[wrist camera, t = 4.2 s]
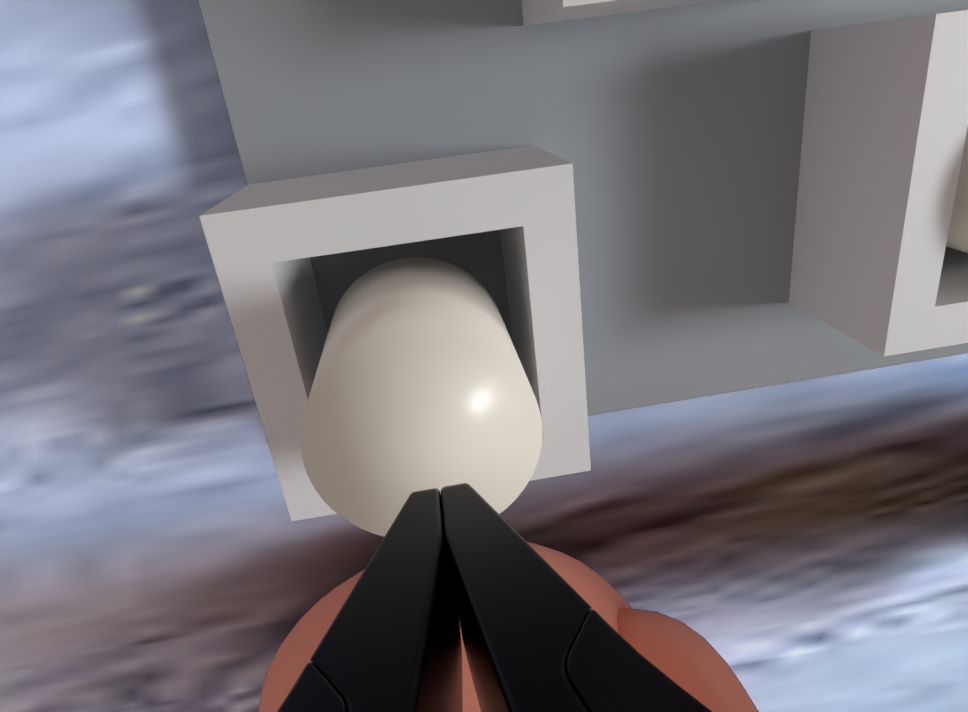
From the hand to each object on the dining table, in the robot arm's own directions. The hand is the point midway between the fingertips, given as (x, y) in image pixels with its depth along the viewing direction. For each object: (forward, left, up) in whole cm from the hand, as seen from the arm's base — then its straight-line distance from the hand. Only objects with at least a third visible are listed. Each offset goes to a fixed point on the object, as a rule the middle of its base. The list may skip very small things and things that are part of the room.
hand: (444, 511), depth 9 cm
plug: (0, 0, -7) cm, 7 cm away
